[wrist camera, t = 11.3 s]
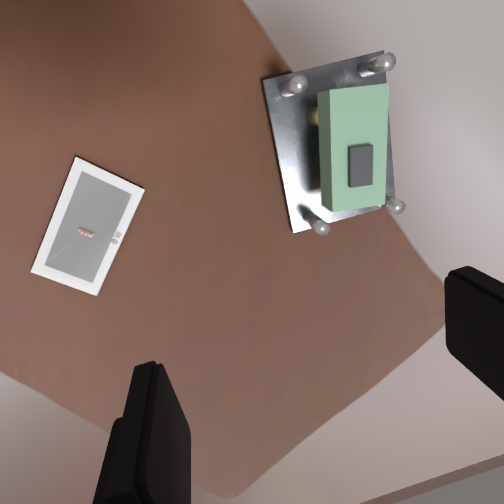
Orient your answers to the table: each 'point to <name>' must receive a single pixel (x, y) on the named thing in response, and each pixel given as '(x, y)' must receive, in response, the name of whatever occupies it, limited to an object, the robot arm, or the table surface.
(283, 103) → the chassis
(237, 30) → the table surface
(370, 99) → the green block
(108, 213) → the touchpad
